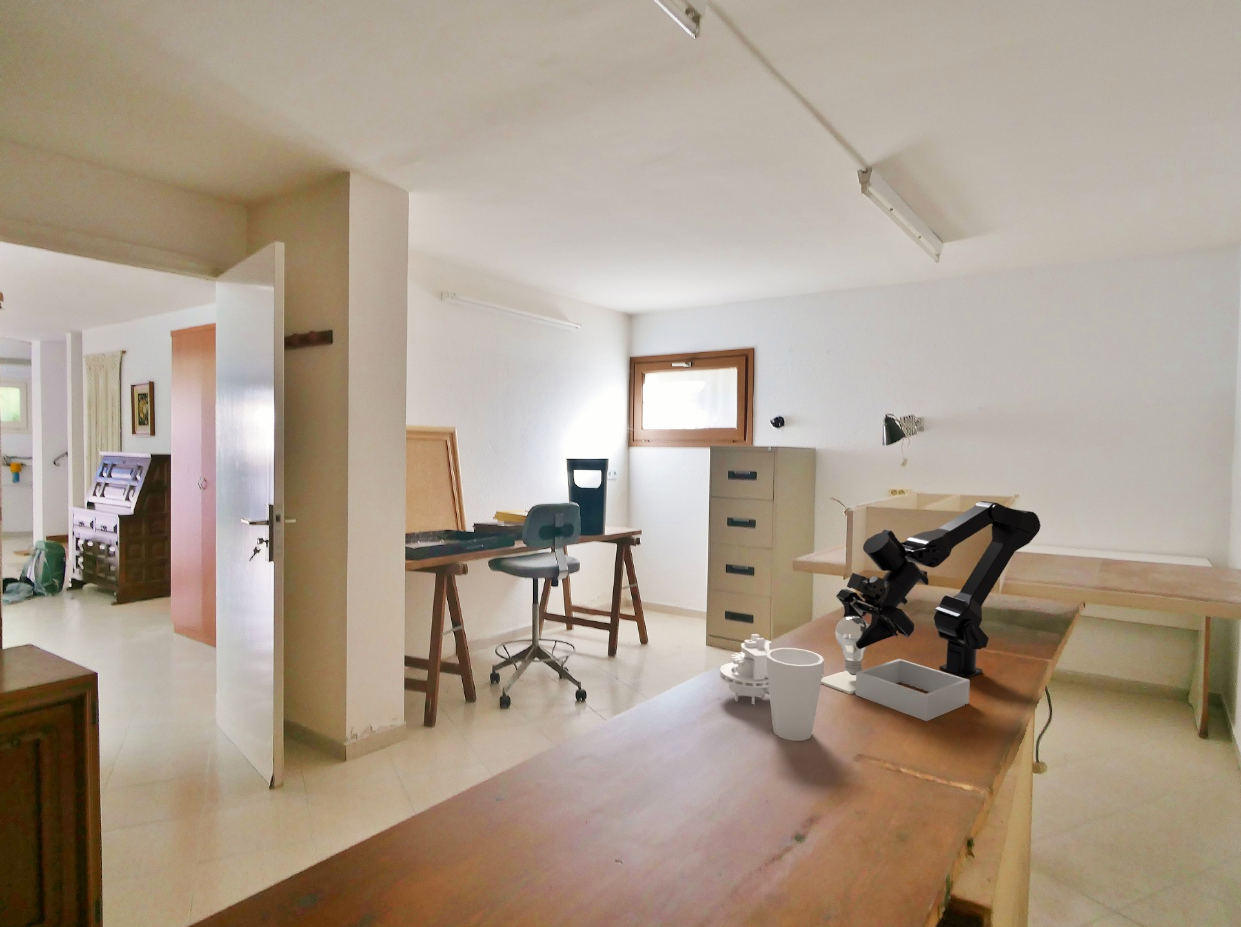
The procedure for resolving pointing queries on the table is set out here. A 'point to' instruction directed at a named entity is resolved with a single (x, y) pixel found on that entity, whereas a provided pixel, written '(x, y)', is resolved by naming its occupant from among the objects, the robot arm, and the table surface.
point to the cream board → (841, 682)
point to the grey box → (884, 690)
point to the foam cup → (794, 690)
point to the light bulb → (851, 641)
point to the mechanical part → (748, 669)
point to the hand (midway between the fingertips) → (847, 642)
